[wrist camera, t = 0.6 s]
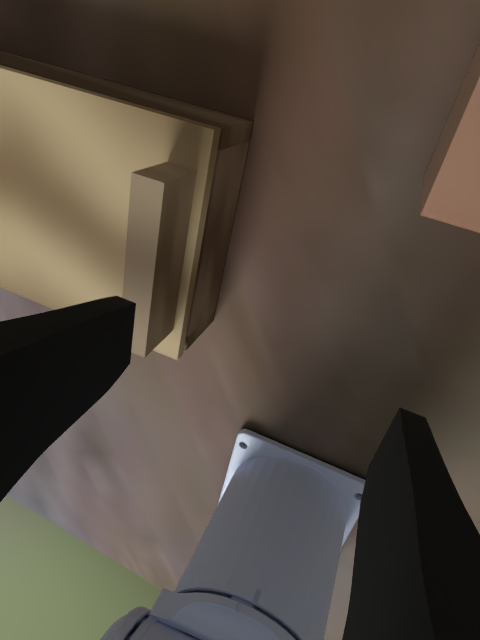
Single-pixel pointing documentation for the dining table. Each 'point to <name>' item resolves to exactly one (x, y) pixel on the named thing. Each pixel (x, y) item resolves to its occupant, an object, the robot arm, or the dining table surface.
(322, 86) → the dining table surface
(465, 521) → the robot arm
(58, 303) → the lid
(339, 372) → the dining table surface
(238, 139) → the walnut box
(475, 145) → the tan cardboard cube
